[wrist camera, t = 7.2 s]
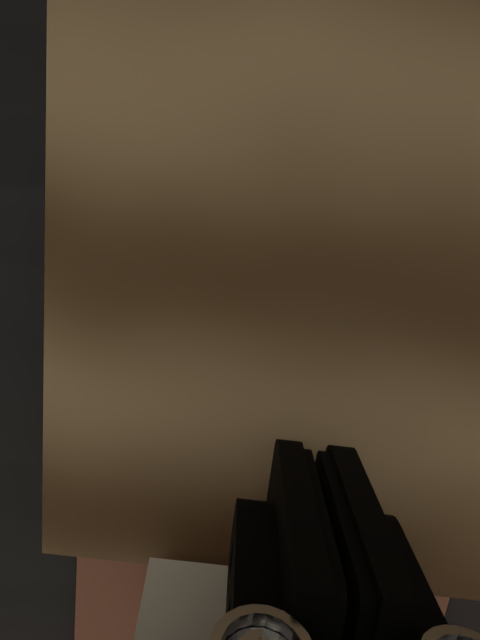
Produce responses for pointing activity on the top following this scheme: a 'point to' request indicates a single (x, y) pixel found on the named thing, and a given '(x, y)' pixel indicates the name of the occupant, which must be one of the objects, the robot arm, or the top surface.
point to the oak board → (260, 267)
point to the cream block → (181, 600)
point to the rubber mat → (117, 599)
